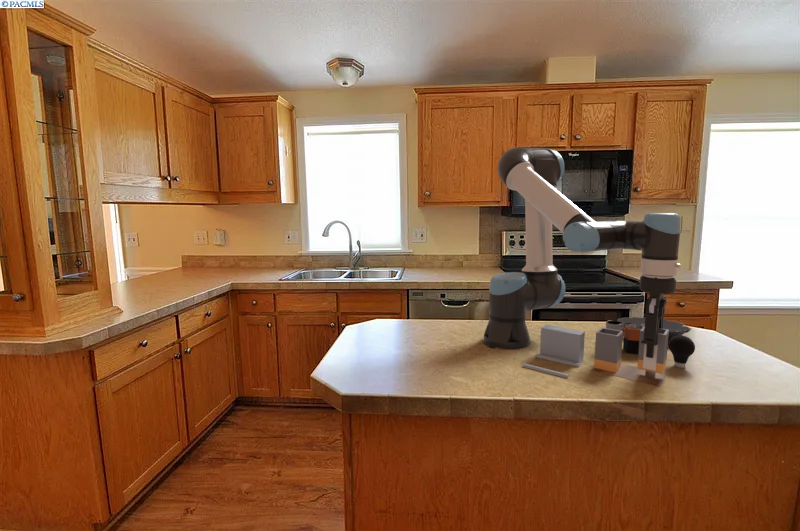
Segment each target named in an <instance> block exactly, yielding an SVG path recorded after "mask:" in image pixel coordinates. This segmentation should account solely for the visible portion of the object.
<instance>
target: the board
mask: <svg viewBox="0 0 800 531" xmlns="http://www.w3.org/2000/svg"><path fill="white" fill-rule="evenodd" d="M616 321H620V322H622V323H623V329H624V327H625V325H630V324H635V325H636V326H641V324H645V317H641V316H640V317H639V316H632V317H621V318H618V319H617V320H616ZM663 329H668V330H669V334H668V342H669V341H670V340H671V339H672V338H673V337H675V336H679V335H682V336H684V335H685V334H687V333H689V332H690V331H691V330H692V327H689V326H685V323H682V322H679V321H673V320H668V319H667V320H666V319H664V322H663Z"/></svg>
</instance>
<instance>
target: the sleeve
mask: <svg viewBox="0 0 800 531" xmlns="http://www.w3.org/2000/svg"><path fill="white" fill-rule="evenodd" d="M644 328H645V326H644V327H643V328H642V329H641V330H640V340H639V354H637V355H638V356H637V367H638V368H637V369H641V370H646V371H650V372H655V373H660V374H663V373H665V370H666V367H667V359H668V358H667V357H668V348H669V341H668V334H669V330H668V329H661V328H658V337H657V345H658V349H657V362H656V371H654V370H649V369H645V368H643V357H644V344H643V343H641V341H643V340H644Z"/></svg>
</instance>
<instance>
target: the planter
mask: <svg viewBox="0 0 800 531" xmlns="http://www.w3.org/2000/svg"><path fill="white" fill-rule="evenodd" d="M605 328H607V329H613V330H619V331H623V332H624V328H623V323H622V322H620V321H617V320H612V319H611V320H606V322H605Z"/></svg>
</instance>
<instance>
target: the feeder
mask: <svg viewBox="0 0 800 531" xmlns="http://www.w3.org/2000/svg"><path fill="white" fill-rule="evenodd" d="M585 334H586V331H583V330H578V329H571V328H568V327H560V326H555V325H550V324H545V325H543V326H542V327H541V328H540V344H539V345H540V347H539V348H540V349H539V353H536V355H535V358H538V359H539V358H540V359H542V360H548V361H552V362H557V363H559V364H565V365H568V366H572V367H576V368H580V365H581V363H583V362H584V354H585V353H584V352H585V338H586V337H585ZM522 367H524V368H526V369H530V370H534V371H537V372H542V373H545V374H550V375H554V376H556V377H557V376H558V377H561V378H565V379H569V378H570V374H568V373H565V372H560V371H557V370H552V369H548V368H545V367H540V366H536V365H532V364H528V363H525V362H524V363H522Z"/></svg>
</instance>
